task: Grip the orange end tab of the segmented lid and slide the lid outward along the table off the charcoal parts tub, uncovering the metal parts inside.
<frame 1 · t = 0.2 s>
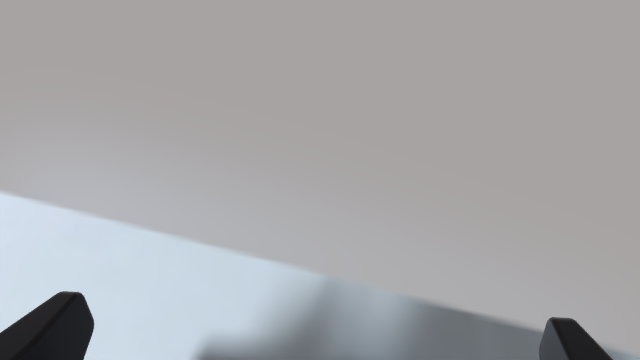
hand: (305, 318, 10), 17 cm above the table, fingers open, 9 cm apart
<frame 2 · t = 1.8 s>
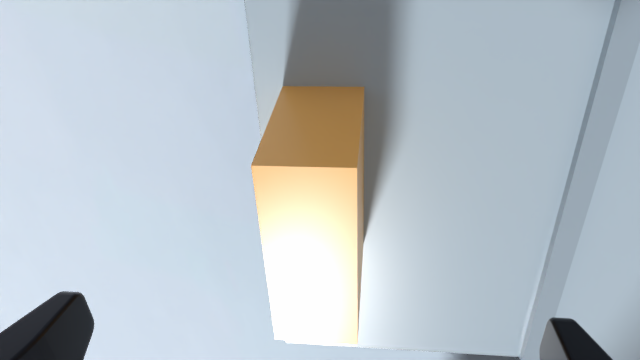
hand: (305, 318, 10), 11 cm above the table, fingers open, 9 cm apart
lid: (597, 211, 12), point 7 cm above the table, slide at 0.0 cm
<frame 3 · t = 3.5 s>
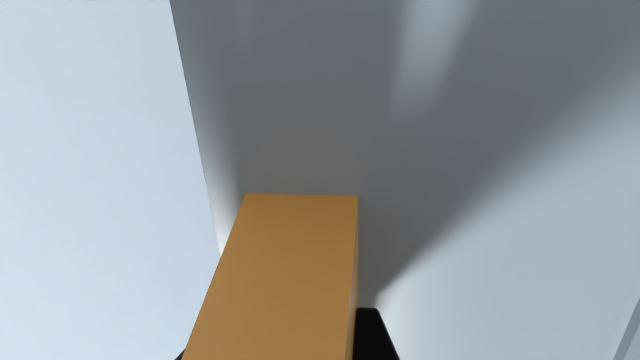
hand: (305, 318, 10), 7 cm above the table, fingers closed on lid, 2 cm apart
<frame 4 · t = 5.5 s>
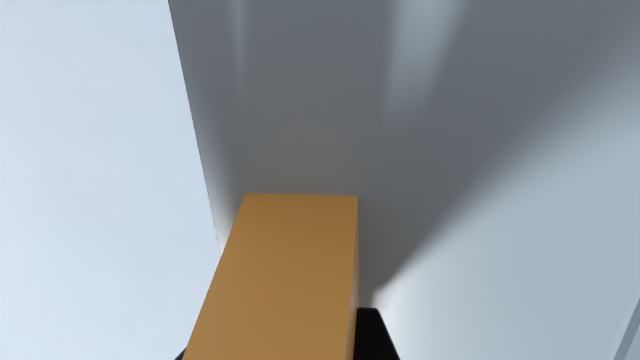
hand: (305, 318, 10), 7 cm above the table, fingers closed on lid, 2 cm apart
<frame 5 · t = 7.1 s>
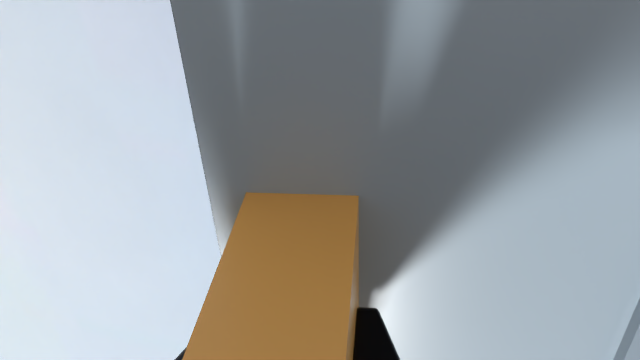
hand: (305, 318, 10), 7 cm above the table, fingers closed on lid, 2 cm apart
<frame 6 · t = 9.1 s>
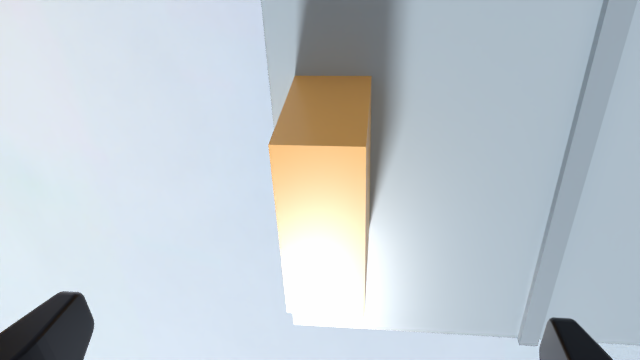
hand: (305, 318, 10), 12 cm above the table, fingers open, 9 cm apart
lid: (589, 193, 13), point 7 cm above the table, slide at 13.9 cm
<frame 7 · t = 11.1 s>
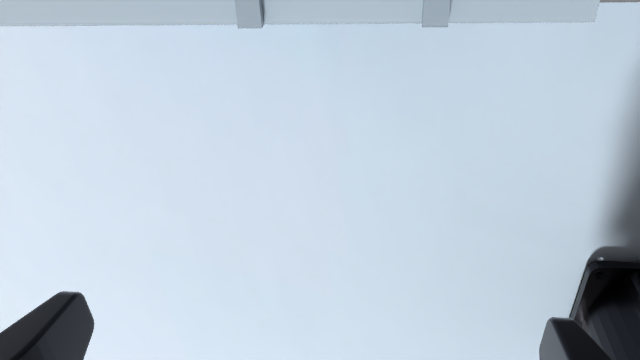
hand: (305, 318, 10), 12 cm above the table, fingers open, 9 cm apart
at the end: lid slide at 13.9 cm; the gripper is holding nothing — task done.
